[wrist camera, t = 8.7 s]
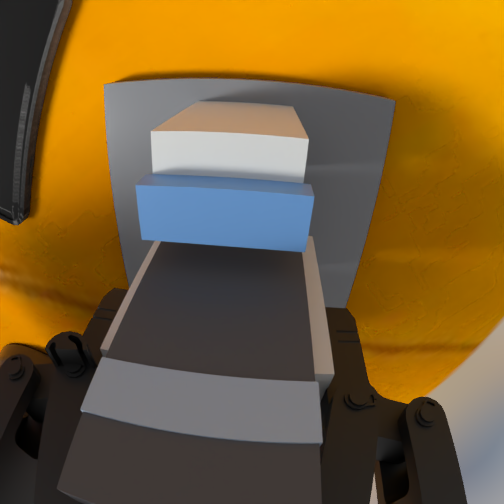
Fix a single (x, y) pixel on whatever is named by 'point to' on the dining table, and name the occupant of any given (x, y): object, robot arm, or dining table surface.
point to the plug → (205, 387)
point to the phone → (24, 92)
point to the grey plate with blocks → (247, 168)
